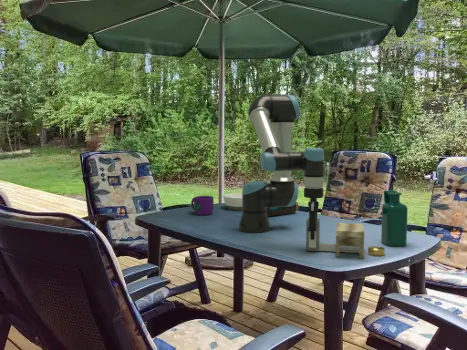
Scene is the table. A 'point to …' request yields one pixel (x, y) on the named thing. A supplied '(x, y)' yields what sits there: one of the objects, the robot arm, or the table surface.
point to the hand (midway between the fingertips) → (312, 245)
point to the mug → (203, 205)
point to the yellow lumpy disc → (376, 251)
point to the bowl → (233, 201)
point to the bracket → (327, 245)
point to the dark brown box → (281, 210)
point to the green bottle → (394, 220)
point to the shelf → (350, 236)
